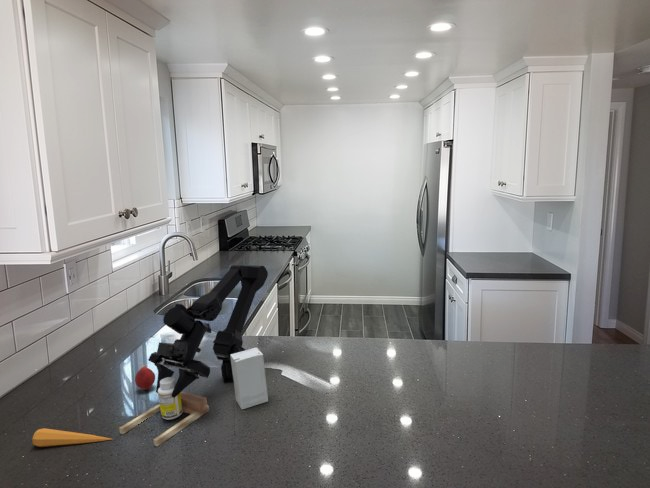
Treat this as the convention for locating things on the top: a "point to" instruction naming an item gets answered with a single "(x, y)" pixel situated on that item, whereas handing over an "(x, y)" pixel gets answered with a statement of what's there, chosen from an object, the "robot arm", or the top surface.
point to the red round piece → (145, 378)
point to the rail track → (189, 405)
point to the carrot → (62, 438)
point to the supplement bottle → (169, 399)
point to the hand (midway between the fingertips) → (165, 395)
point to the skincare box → (249, 378)
